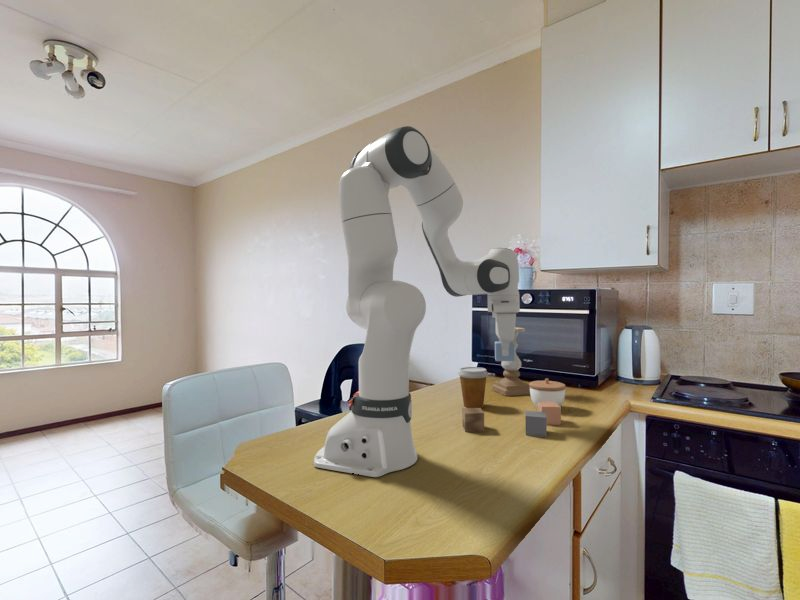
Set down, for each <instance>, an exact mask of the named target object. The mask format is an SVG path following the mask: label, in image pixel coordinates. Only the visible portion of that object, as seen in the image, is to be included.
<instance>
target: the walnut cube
mask: <svg viewBox="0 0 800 600" xmlns="http://www.w3.org/2000/svg"><path fill="white" fill-rule="evenodd" d="M461 409H462V410H461V411H462V412H461V415H462V417H461V418H462V421H461V422H462V427H463V430H464V432H465V433H485V412H484V411H483V410H482V407H481V408H468V407H462V408H461Z"/></svg>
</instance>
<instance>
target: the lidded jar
mask: <svg viewBox="0 0 800 600" xmlns="http://www.w3.org/2000/svg"><path fill="white" fill-rule="evenodd" d="M528 385H529V387H530V400H531V402H532V404H534V406H536V408H537V409H538V405H537V402H556V403H557V404H558V405H559V406H560V407H561V406H562V405H563V403H564V402H565V399H566V398H565V396H566V384H565V383H563V382H559V381H556V380H555V381H553V380H549V378H545V379H544V380H533V381H531V382H529V383H528Z"/></svg>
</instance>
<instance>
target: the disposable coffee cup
mask: <svg viewBox="0 0 800 600" xmlns="http://www.w3.org/2000/svg"><path fill="white" fill-rule="evenodd" d="M488 375H489V373H488V371H487V369H486V368H484V367H480V366H479V367H477V366H465V367H461V368H459V370H458V376H459V378H460V387H461V394H462V401H463V403H462V404H463V406H464V408H481V409H482V408H483V407H484V403H485V394H486V392H485V391H486V384H487V377H488Z"/></svg>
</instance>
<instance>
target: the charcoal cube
mask: <svg viewBox="0 0 800 600" xmlns="http://www.w3.org/2000/svg"><path fill="white" fill-rule="evenodd" d="M524 419H525V436H529V437H530V436H531V437H541V438H547V437H548V435H547V431H548V430H547V429H548V428H547V425H546V412H538V410H537V411H536V410H525V416H524Z"/></svg>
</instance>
